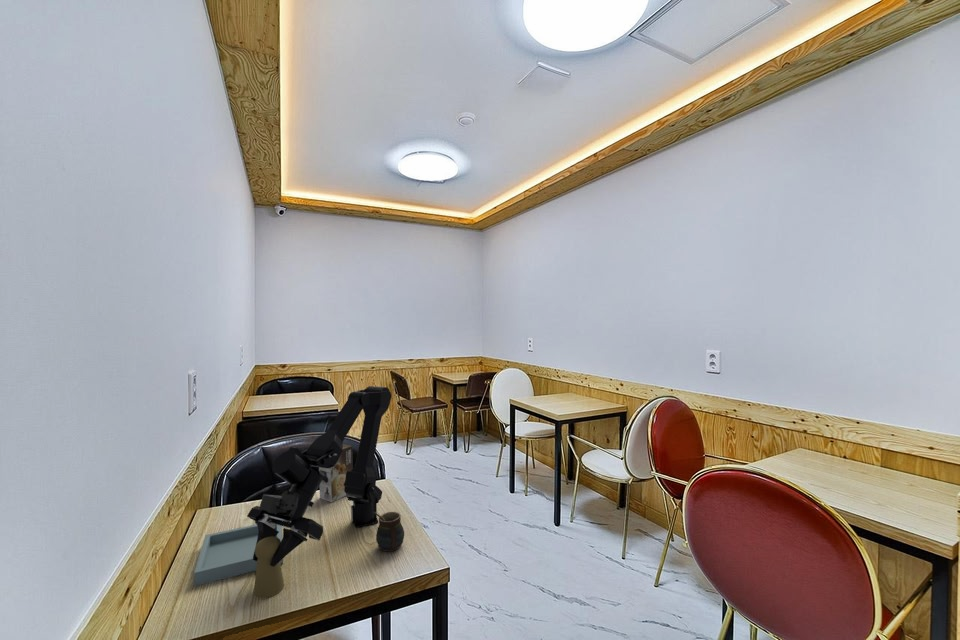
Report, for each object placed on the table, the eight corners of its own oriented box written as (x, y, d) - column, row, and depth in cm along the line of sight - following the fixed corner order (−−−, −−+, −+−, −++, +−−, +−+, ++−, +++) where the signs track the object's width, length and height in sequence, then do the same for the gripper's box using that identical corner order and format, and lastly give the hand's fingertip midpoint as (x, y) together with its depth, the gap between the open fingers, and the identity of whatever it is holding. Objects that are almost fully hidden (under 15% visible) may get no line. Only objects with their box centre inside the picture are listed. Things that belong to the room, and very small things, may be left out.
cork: (271, 600, 88) (270, 548, 88) (246, 596, 89) (245, 546, 89) (290, 582, 94) (289, 534, 94) (266, 578, 95) (265, 531, 95)
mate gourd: (408, 549, 107) (407, 511, 106) (379, 558, 103) (378, 519, 103) (399, 536, 113) (398, 500, 113) (372, 544, 109) (370, 507, 109)
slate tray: (281, 529, 117) (281, 519, 117) (283, 563, 101) (282, 551, 101) (205, 546, 109) (205, 534, 109) (194, 586, 93) (194, 572, 93)
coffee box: (341, 488, 145) (340, 442, 144) (354, 492, 141) (353, 445, 141) (318, 498, 137) (318, 450, 137) (331, 503, 133) (330, 453, 133)
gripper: (253, 472, 99) (208, 541, 89) (312, 484, 91) (270, 561, 81) (281, 491, 106) (242, 558, 96) (338, 504, 99) (302, 577, 89)
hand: (262, 563), depth 90 cm, fingers closed on cork, 5 cm apart
